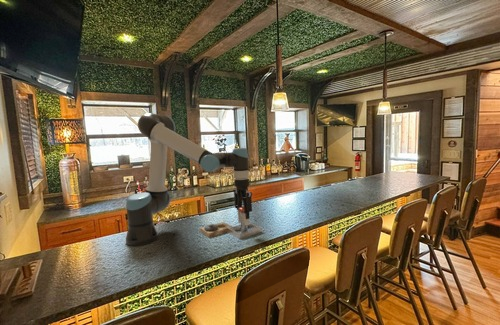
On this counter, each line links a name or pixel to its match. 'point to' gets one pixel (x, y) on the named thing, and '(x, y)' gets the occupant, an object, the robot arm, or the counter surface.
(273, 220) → the counter surface
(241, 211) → the lock pin
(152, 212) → the robot arm
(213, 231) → the tensioner block
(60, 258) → the counter surface
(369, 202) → the counter surface
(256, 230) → the tray
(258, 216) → the counter surface
